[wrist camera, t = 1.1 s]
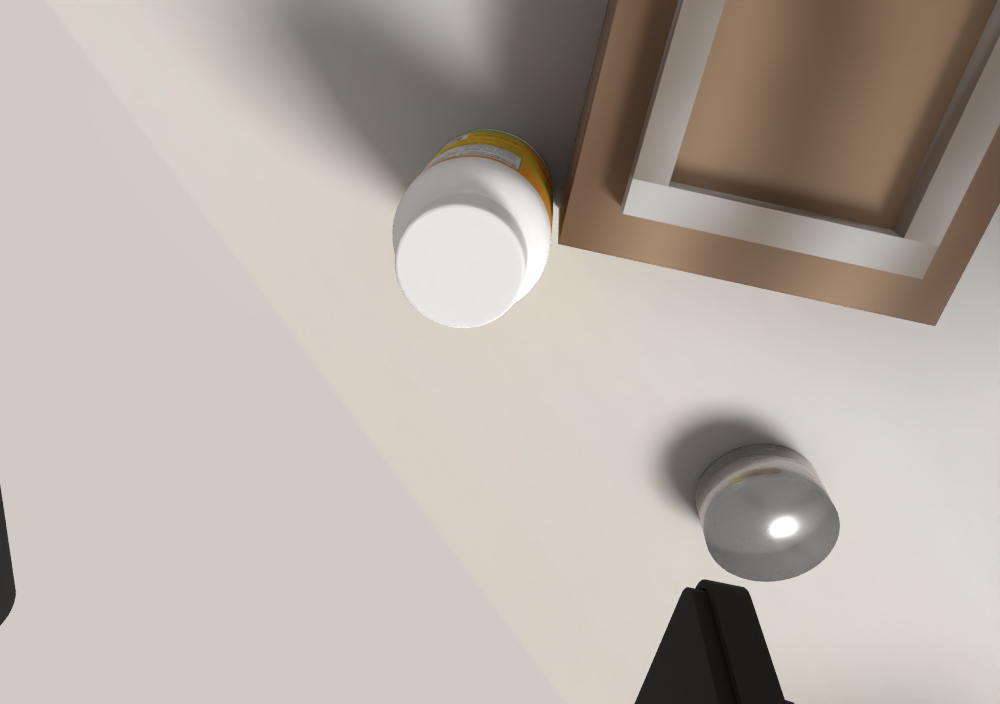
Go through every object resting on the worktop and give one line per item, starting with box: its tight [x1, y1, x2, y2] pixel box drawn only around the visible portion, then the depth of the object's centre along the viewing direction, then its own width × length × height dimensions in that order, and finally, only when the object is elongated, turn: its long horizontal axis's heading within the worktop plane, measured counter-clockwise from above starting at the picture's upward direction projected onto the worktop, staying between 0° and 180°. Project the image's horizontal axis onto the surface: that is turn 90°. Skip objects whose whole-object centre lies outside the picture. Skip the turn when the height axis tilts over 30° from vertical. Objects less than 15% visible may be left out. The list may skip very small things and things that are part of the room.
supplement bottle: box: [393, 129, 553, 328], centre depth 26 cm, size 5×5×10 cm
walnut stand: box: [558, 0, 1000, 326], centre depth 24 cm, size 14×14×6 cm
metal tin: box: [696, 444, 840, 582], centre depth 34 cm, size 6×6×3 cm
